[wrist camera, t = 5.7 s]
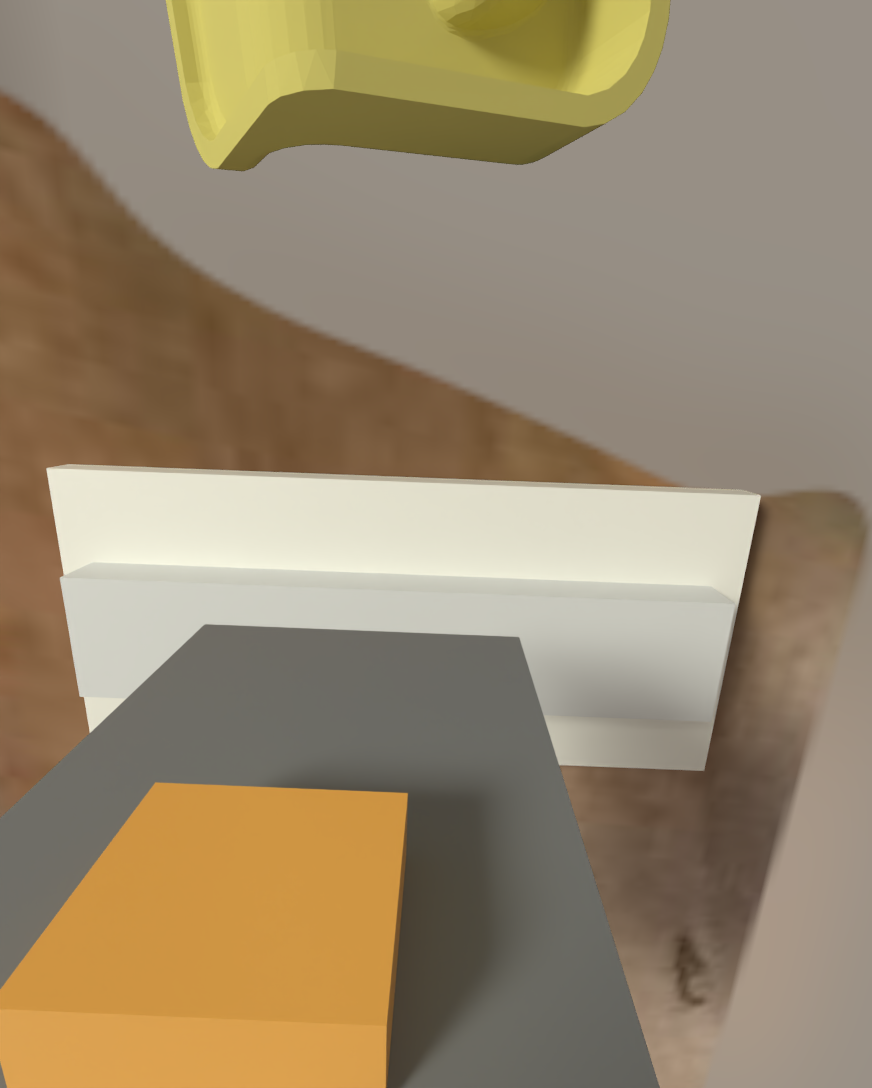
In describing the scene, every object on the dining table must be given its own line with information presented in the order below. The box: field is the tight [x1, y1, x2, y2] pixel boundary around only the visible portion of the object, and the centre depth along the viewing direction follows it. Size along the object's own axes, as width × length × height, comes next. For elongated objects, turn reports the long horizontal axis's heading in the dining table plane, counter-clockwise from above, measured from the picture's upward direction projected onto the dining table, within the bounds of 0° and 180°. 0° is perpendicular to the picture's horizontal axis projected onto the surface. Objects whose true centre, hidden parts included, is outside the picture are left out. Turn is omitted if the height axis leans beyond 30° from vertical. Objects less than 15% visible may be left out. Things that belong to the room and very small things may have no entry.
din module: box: [0, 624, 660, 1088], centre depth 6 cm, size 9×5×7 cm, turn 178°
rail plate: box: [46, 464, 761, 771], centre depth 17 cm, size 10×22×2 cm, turn 88°
